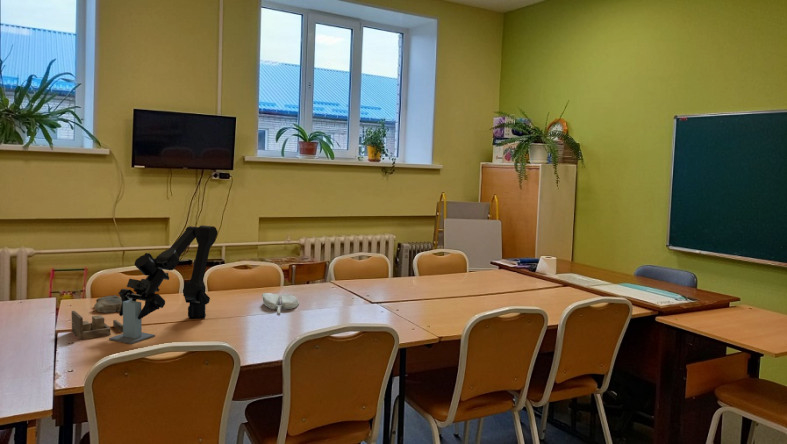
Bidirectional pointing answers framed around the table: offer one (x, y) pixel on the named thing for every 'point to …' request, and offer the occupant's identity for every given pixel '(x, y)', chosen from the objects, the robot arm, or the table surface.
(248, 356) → the table surface
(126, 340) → the mat
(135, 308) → the pale blue wedge-ended prism
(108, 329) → the rack
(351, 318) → the table surface
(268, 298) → the lung model
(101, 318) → the offcut tall
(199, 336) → the table surface
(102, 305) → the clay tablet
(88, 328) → the offcut short
